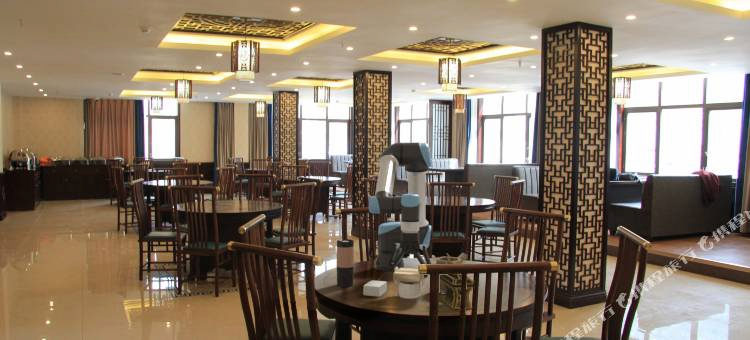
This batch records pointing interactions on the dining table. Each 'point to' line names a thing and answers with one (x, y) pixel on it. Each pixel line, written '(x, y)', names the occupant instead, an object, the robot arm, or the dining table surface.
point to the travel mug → (345, 263)
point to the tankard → (453, 259)
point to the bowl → (409, 290)
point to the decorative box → (455, 288)
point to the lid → (407, 275)
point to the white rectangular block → (375, 288)
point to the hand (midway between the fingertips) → (409, 284)
